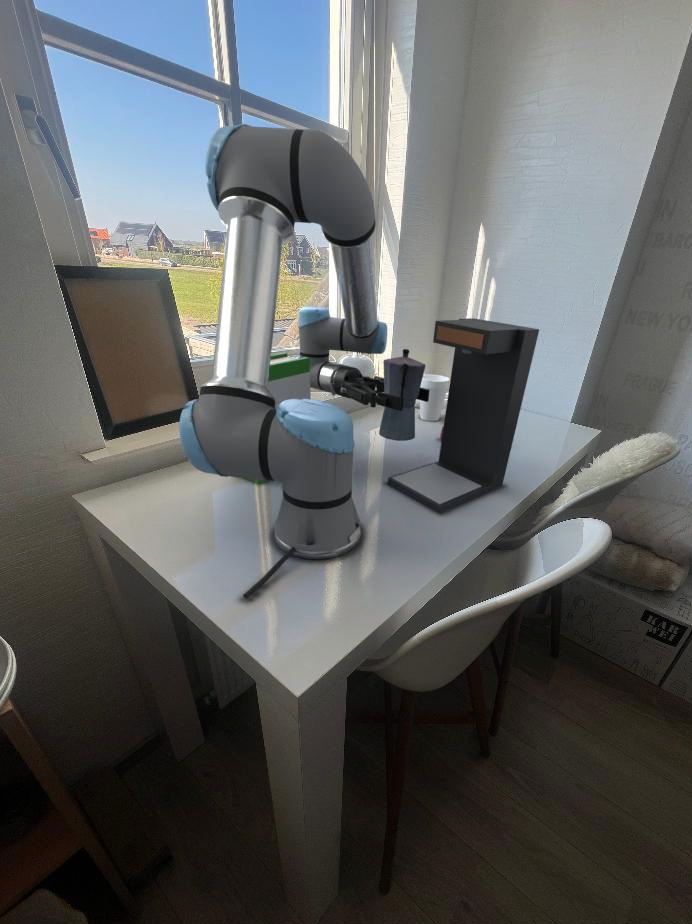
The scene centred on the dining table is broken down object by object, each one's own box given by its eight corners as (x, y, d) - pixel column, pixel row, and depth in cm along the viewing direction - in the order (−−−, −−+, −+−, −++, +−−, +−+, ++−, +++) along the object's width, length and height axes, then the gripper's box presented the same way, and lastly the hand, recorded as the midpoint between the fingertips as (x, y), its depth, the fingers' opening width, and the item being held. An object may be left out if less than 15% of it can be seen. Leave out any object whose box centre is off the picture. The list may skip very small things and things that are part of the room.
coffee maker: (439, 513, 85) (468, 334, 68) (387, 483, 95) (400, 320, 78) (502, 485, 98) (539, 329, 81) (450, 462, 108) (473, 318, 91)
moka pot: (414, 427, 109) (423, 346, 99) (420, 450, 95) (432, 358, 85) (377, 425, 108) (383, 342, 98) (378, 447, 95) (385, 354, 85)
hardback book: (289, 451, 107) (284, 352, 95) (311, 458, 104) (309, 357, 92) (235, 474, 94) (221, 363, 82) (258, 483, 91) (247, 369, 79)
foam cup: (411, 413, 141) (415, 374, 134) (436, 413, 144) (441, 374, 137) (422, 423, 133) (426, 381, 127) (448, 422, 136) (454, 381, 129)
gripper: (369, 388, 115) (438, 406, 104) (309, 403, 99) (384, 427, 88) (370, 359, 111) (443, 375, 101) (309, 371, 95) (386, 391, 85)
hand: (415, 400), depth 94 cm, fingers closed on moka pot, 10 cm apart
